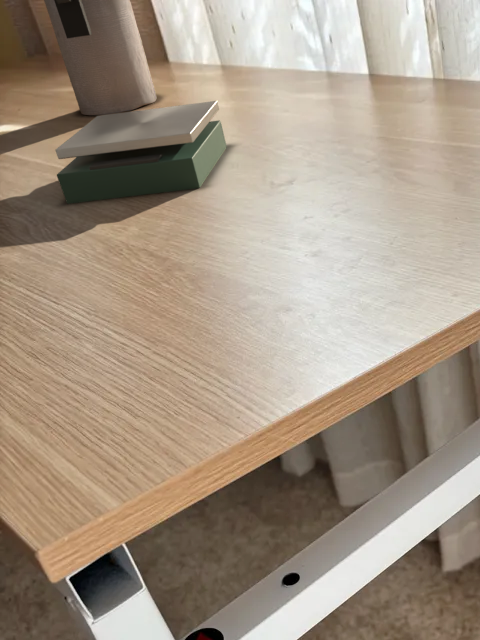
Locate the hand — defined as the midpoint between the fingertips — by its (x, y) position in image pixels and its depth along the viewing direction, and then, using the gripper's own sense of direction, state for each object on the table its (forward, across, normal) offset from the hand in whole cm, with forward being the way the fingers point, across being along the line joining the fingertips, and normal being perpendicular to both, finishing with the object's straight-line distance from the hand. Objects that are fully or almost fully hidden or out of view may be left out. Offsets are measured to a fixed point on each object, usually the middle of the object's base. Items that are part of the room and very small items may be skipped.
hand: (97, 27), depth 97 cm
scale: (+9, -34, -13) cm, 37 cm away
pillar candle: (+9, 0, 0) cm, 9 cm away
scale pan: (+5, -33, -13) cm, 36 cm away
